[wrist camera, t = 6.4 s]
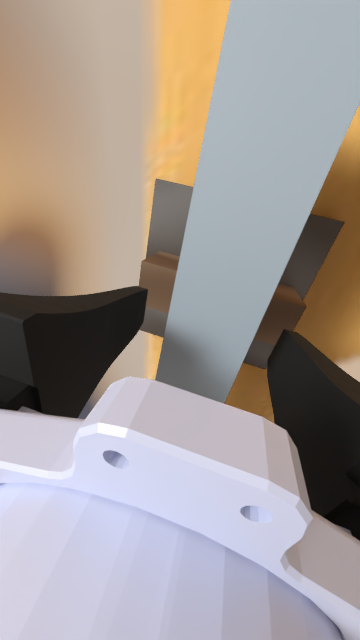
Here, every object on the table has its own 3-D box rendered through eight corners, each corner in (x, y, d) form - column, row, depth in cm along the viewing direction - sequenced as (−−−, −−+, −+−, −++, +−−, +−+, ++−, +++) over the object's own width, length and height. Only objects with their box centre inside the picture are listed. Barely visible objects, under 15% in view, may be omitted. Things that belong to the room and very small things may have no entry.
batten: (195, 430, 20) (183, 494, 15) (158, 417, 20) (136, 475, 16) (356, 19, 8) (505, -221, 3) (256, 6, 8) (275, -223, 4)
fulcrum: (264, 362, 20) (270, 400, 16) (141, 324, 21) (119, 350, 17) (338, 221, 14) (375, 227, 10) (160, 179, 15) (133, 171, 11)
